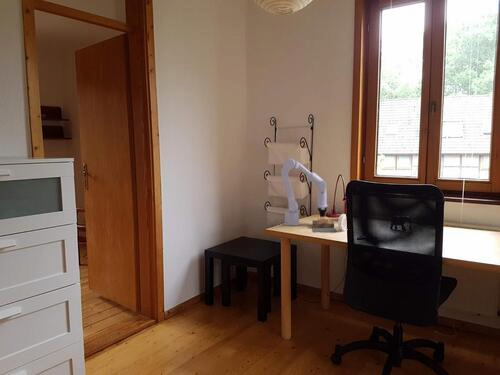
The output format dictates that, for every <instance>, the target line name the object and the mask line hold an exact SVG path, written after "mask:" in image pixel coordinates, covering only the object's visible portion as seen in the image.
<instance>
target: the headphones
mask: <svg viewBox="0 0 500 375" xmlns="http://www.w3.org/2000/svg"><path fill="white" fill-rule="evenodd" d="M339 215H340V216H339V217H338V220H337V226H338V229H339V231H340V232H341V231H343V232H346V231H347V230H346V214H344V213H341V214H339Z"/></svg>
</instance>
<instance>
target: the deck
mask: <svg viewBox="0 0 500 375" xmlns="http://www.w3.org/2000/svg"><path fill="white" fill-rule="evenodd" d="M333 220H334V219H333ZM333 220H332V219H331V220H330V219H328V223H318V219H317V220H314V219H313V220H312V229H313V228H335V222H334V221H333Z"/></svg>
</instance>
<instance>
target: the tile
mask: <svg viewBox="0 0 500 375" xmlns="http://www.w3.org/2000/svg"><path fill="white" fill-rule="evenodd" d="M317 220H318V223H328V220H329V218H328V216H325V217H320V216H318V217H317Z"/></svg>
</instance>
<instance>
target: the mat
mask: <svg viewBox="0 0 500 375" xmlns="http://www.w3.org/2000/svg"><path fill="white" fill-rule="evenodd" d="M312 232H313V233H338V231H337V229H336V228H335V227H334V228H313V227H312Z"/></svg>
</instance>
